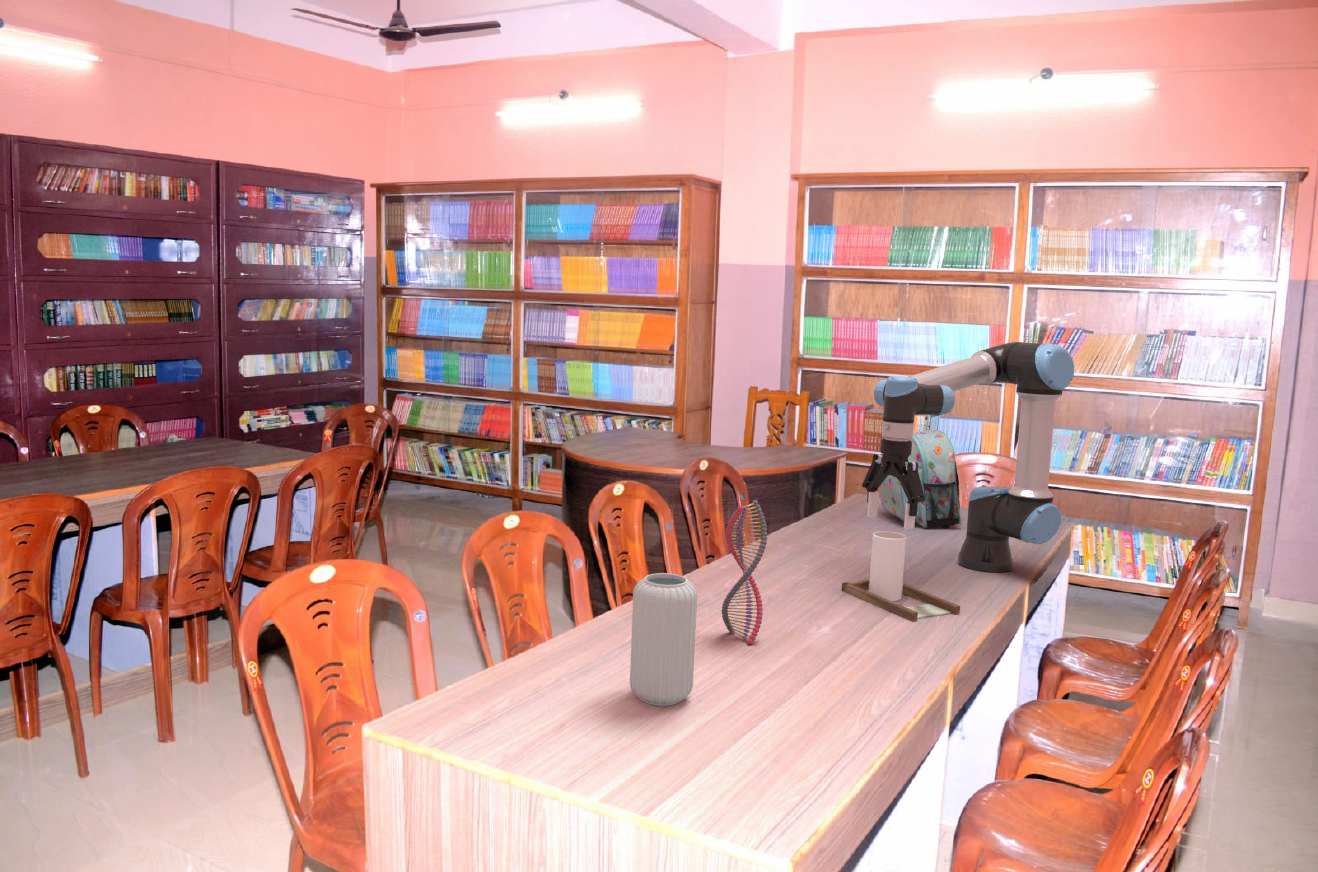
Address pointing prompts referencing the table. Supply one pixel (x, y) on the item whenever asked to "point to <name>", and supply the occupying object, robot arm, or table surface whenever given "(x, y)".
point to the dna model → (745, 571)
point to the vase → (663, 639)
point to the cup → (887, 564)
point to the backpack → (928, 482)
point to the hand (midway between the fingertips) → (889, 522)
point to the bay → (912, 613)
